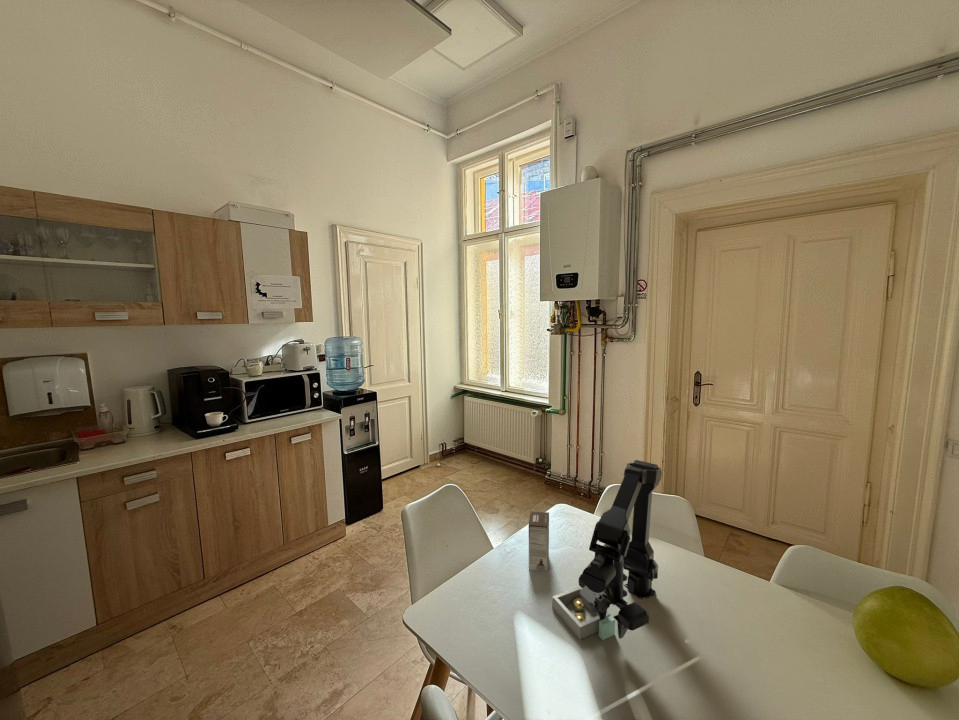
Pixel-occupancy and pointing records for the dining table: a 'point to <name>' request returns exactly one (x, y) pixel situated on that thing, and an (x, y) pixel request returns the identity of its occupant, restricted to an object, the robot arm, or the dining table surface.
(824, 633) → the dining table surface
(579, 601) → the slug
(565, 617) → the tub
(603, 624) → the lid
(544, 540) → the coffee box
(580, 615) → the ball
